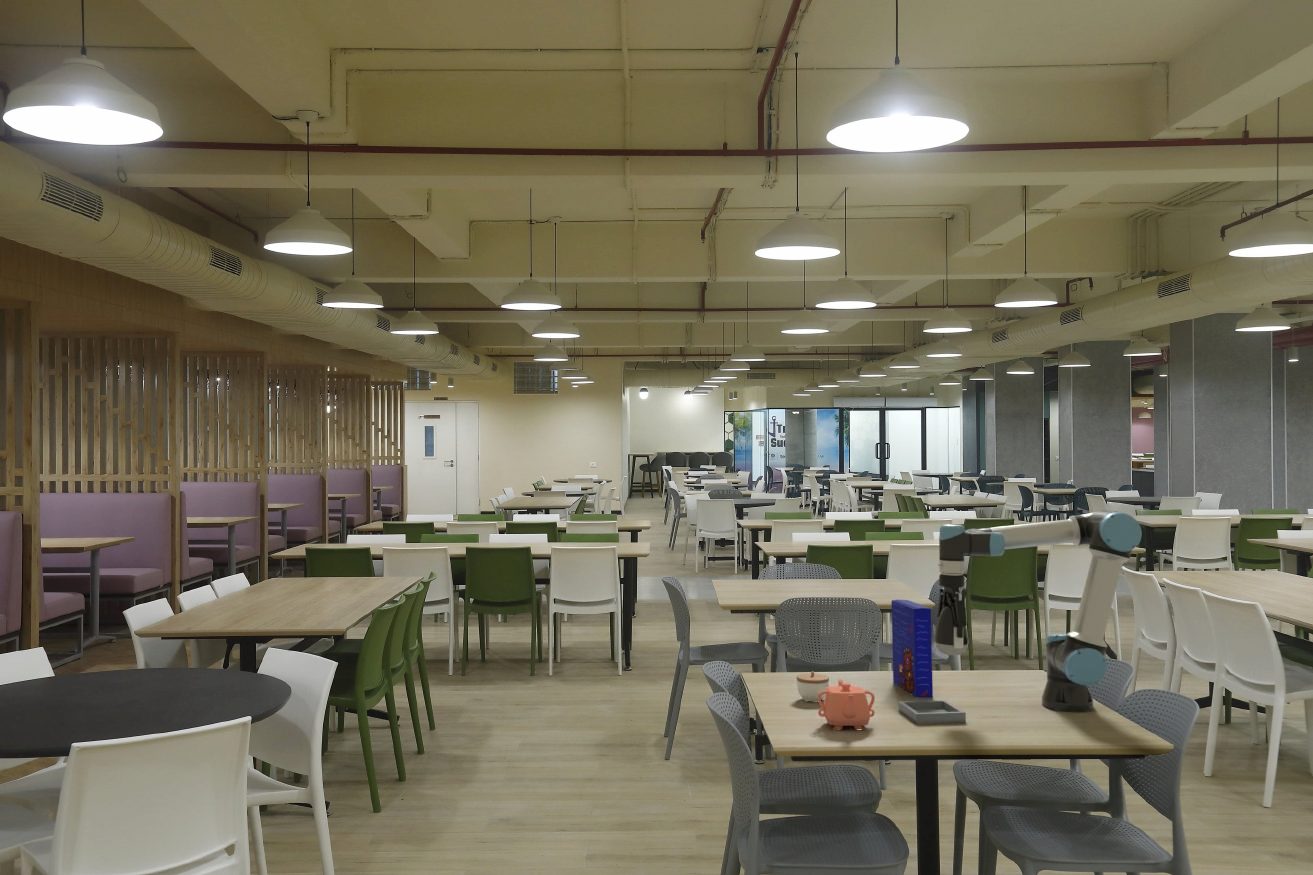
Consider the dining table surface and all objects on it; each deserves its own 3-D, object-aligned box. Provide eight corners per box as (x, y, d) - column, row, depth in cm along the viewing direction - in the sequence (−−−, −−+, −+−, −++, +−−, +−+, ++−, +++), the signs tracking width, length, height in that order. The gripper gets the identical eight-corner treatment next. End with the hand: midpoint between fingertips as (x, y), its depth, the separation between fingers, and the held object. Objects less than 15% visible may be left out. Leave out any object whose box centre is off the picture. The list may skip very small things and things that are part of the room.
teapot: (852, 736, 259) (851, 692, 260) (808, 724, 272) (807, 682, 272) (884, 727, 269) (883, 684, 269) (840, 716, 281) (839, 675, 282)
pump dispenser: (976, 655, 280) (976, 606, 280) (948, 657, 276) (948, 608, 277) (954, 649, 289) (954, 602, 290) (927, 651, 285) (927, 603, 286)
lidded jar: (829, 704, 296) (829, 675, 296) (796, 703, 298) (796, 674, 298) (828, 696, 306) (828, 668, 307) (796, 695, 308) (796, 667, 308)
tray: (945, 709, 288) (945, 699, 288) (965, 722, 273) (965, 712, 273) (898, 710, 287) (898, 701, 287) (916, 724, 271) (916, 713, 271)
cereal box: (932, 696, 304) (930, 607, 306) (915, 697, 304) (913, 608, 305) (909, 682, 326) (907, 599, 327) (893, 682, 326) (891, 599, 327)
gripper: (926, 569, 295) (926, 638, 294) (954, 577, 272) (954, 651, 271) (949, 570, 295) (949, 638, 294) (978, 578, 272) (978, 651, 272)
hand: (951, 644), depth 283 cm, fingers closed on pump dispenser, 10 cm apart
